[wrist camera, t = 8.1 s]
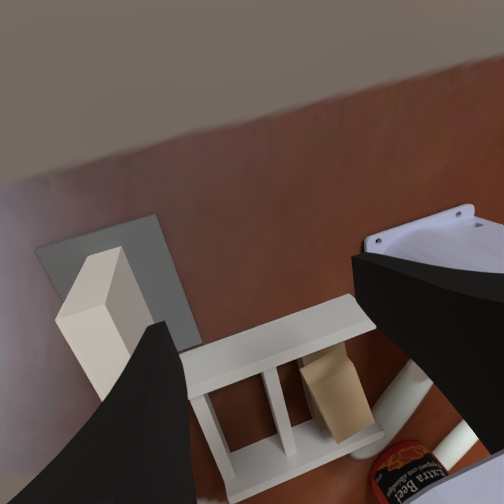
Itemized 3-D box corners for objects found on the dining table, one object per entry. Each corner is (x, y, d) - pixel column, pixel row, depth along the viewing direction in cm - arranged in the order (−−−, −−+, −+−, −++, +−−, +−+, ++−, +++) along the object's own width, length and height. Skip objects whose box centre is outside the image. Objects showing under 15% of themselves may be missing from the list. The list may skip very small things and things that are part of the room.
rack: (349, 293, 26) (375, 317, 23) (361, 405, 32) (384, 437, 28) (177, 355, 24) (180, 390, 21) (222, 464, 29) (230, 505, 26)
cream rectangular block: (121, 246, 20) (105, 304, 14) (164, 347, 23) (167, 431, 17) (87, 256, 20) (55, 320, 13) (136, 357, 23) (128, 446, 17)
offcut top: (339, 347, 25) (353, 364, 23) (361, 403, 28) (375, 422, 26) (299, 369, 25) (310, 388, 23) (325, 423, 28) (337, 444, 26)
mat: (155, 213, 20) (155, 214, 20) (202, 340, 24) (202, 342, 24) (36, 248, 19) (34, 250, 19) (105, 374, 23) (105, 377, 23)
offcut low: (328, 319, 27) (343, 337, 25) (342, 394, 31) (356, 416, 29) (289, 334, 27) (301, 354, 24) (308, 409, 30) (320, 432, 28)
